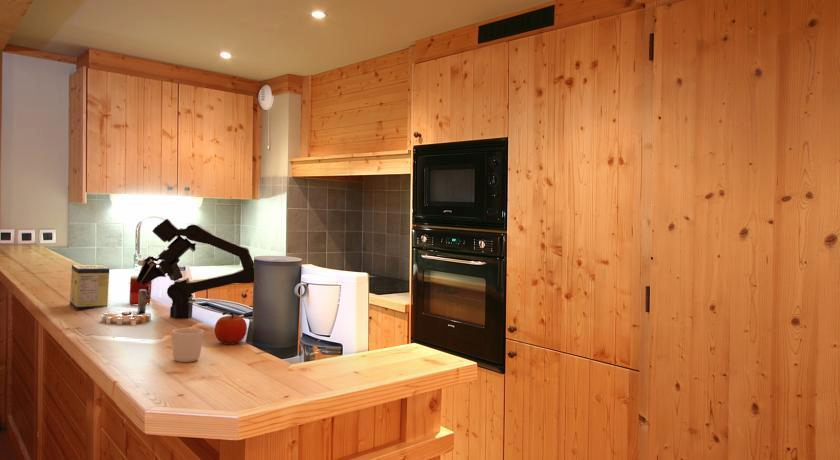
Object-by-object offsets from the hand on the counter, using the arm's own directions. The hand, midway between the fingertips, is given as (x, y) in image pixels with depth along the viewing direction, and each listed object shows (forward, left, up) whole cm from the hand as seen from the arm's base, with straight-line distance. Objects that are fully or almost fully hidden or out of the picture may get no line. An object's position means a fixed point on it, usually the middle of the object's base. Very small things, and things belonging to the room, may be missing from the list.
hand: (139, 283), depth 199 cm
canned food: (+19, -36, -14) cm, 43 cm away
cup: (-37, +40, -14) cm, 56 cm away
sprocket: (+2, +3, -12) cm, 13 cm away
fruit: (-40, +18, -14) cm, 46 cm away
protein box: (+31, -21, -14) cm, 40 cm away
